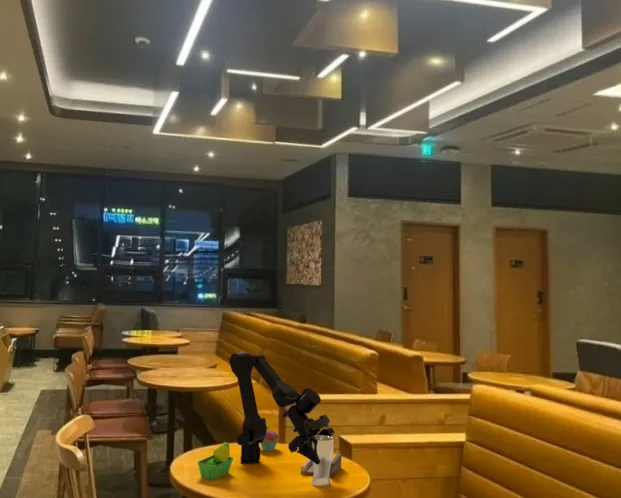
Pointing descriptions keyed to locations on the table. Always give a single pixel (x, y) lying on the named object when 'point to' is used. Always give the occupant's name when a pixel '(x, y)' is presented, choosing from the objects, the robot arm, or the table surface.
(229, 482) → the table surface
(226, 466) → the fruit basket
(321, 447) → the beer glass
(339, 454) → the grey bracket
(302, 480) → the table surface
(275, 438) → the cupcake
